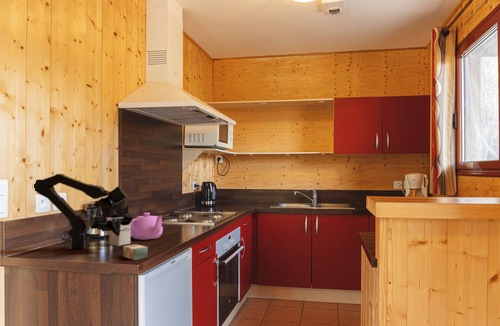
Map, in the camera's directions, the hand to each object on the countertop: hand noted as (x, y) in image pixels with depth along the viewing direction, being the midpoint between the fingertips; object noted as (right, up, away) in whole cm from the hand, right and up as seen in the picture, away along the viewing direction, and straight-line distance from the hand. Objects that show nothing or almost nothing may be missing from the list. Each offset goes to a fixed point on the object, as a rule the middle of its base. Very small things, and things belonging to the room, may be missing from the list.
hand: (118, 235), depth 163 cm
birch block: (+7, -5, -6) cm, 11 cm away
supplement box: (-6, -8, +18) cm, 20 cm away
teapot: (+5, -8, +33) cm, 34 cm away
